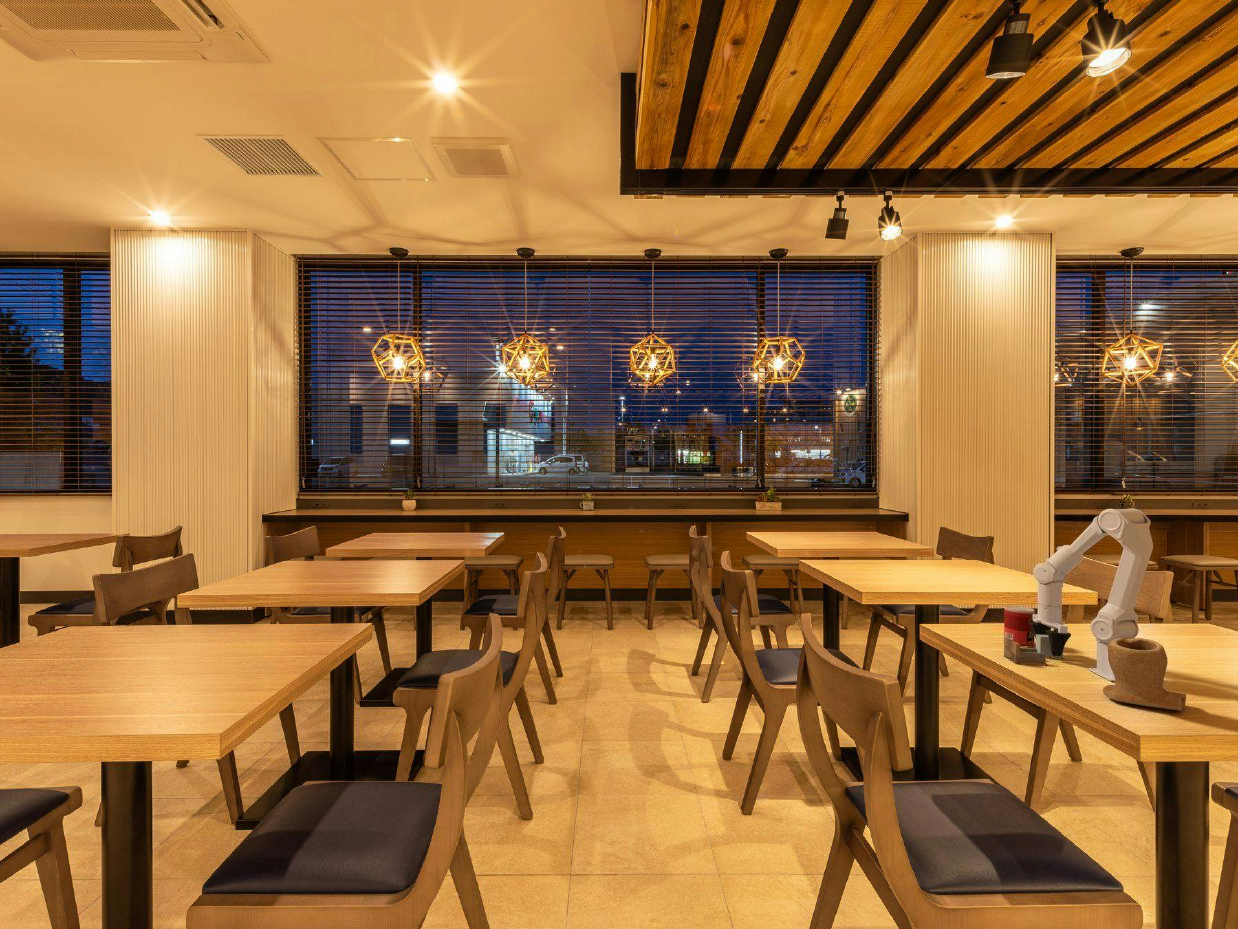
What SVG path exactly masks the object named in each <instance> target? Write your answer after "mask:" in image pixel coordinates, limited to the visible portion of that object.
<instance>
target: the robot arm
mask: <svg viewBox="0 0 1238 929" xmlns="http://www.w3.org/2000/svg"><path fill="white" fill-rule="evenodd" d="M1150 526H1151V520H1150V518H1148V516H1147V515H1146V514H1145V513H1144V512H1143V510H1140V509H1137V508H1117V509H1116V508H1115V509H1114V508H1107V509H1104V510H1102V511H1101V512H1100V513H1099V515H1096V516H1095V517H1094V518H1093V520H1092V522H1091V523H1090V524H1089V525H1088V526H1087V527H1086V528H1085V530H1084V531H1083V532H1082V533H1081V534H1080V535H1079V536H1078V537H1077V538H1076V539H1075V540H1074V541H1073V542H1072V543H1071V544H1070V545H1069V544H1064V545H1061V546H1059V545H1058V546H1057V547H1056V552H1054V553H1053V554H1052V555H1051V556H1050V557H1047V558H1046V559H1045V562H1040V563H1039V562H1038V563H1036V564H1035V566H1034V568H1033V569H1032V570H1033V571H1032V576H1033V577H1034V579H1035V581H1036V582H1037V613H1035V614H1033V621H1034V623H1032V622H1031V623H1029V625H1030V626H1031V628H1032V630H1033V632H1034V635H1035V640H1036V635H1048V637H1049V640H1050V646H1051V653H1052V655H1053V656H1061V655H1062V653H1063V654H1064V649H1065V646H1066V644H1067V642H1068V641H1069V639H1070V638H1071V637H1072V633H1071V632H1069V629H1068V628H1069V627H1068V626H1067V625H1066V624H1065V623H1064V621H1063V620H1062V618H1063V613H1062V612H1063V611H1062V610H1063V605H1062V604H1063V588H1064V583H1065V581H1067V578H1068V574H1069V573H1070V572H1071V571H1072V570H1073V569H1074V568H1075V567H1077V566H1078V565H1079V564H1080V563H1081V562H1082V561H1083V560H1084V553H1085V552H1086V551H1088V550H1089V549H1090V548H1092V547H1093V546H1094V545H1096V544H1097V543H1098V542H1099V541H1101V540H1102V539H1103V538H1104V537H1106V536H1110V537H1111V538H1113V539H1115V540H1116V541H1117V542H1118V543H1119V544H1120V545H1121V547H1122V548H1123V550H1122V553H1121V556H1120V560H1119V563H1118V566H1117V569H1116V573H1115V577H1114V579H1113V582H1112V586H1111V589H1110V592H1109V596H1108V598H1107V599H1108V600H1107V603H1106V604H1105V605H1104V606H1103V607H1102V608H1100V610H1098V613H1097V615H1096V617H1095V618H1094V619H1092V620H1091V622H1090V626H1089V627H1090V632H1091V633H1092V636H1093V637H1095V641H1096V667H1088V670H1089V671H1090V672H1092V673H1094V674H1096V675H1098V676H1100V677H1102V678H1104V679H1106V680H1108V681H1109V682H1112V681H1113V683H1115V677H1114V674H1113V671H1112V669H1111V667H1110V664H1109V660H1108V644H1109V643H1110V642H1111V641H1112V640H1114V639H1118V638H1125V639H1131V638H1137V636H1138V634H1139V633H1140V632H1139V631H1140V630H1139V625H1138V622H1139V615H1138V614H1137V613H1136V611H1135V606H1136V604H1137V600H1138V599H1139V598H1138V597H1139V594H1140V590H1141V588H1142V584H1143V581H1144V578H1145V575H1146V571H1147V568H1148V566H1149V561H1150V558H1151V555H1152V552H1153V549H1154V543H1153V538H1152V535H1151V531H1150Z"/></svg>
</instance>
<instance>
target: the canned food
mask: <svg viewBox="0 0 1238 929" xmlns="http://www.w3.org/2000/svg"><path fill="white" fill-rule="evenodd" d="M1033 614H1036V612H1035V609H1033V608H1031V607H1027V606H1021V605H1005V606H1004V609H1003V619H1004V620H1003V638H1004V637H1008V638H1010V639H1012V640H1013V641H1015V642H1017V643H1019V644H1020V647H1021V646H1032V647H1034V646H1035V644H1036V639H1035V635H1034V632H1033V630H1032V628H1031V626H1030V625H1029V623H1031V622H1032V623H1034V621H1033ZM1033 645H1034V646H1033Z"/></svg>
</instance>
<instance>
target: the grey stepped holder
mask: <svg viewBox="0 0 1238 929" xmlns="http://www.w3.org/2000/svg"><path fill="white" fill-rule="evenodd" d="M1003 657H1004V658H1006V659H1008V660H1009V659H1010V660H1009V661H1011V662H1012V661H1013V663H1014V664H1015V665H1026V664H1032V665H1031V666H1044V665H1047V666H1048V663H1047V662H1046V659H1047V658H1046V654H1045V653H1037V649H1036V647H1035V648H1034V647H1033V648H1032V647H1021V646H1020V644H1019V643H1017V642H1015V641H1013V640H1012V639H1010V638H1008V637H1004V636H1003Z"/></svg>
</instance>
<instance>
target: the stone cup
mask: <svg viewBox="0 0 1238 929" xmlns="http://www.w3.org/2000/svg"><path fill="white" fill-rule="evenodd" d="M1108 660H1109V664H1110V667H1111V669H1112V671H1113V674H1114V677H1115V682H1114V684H1107V685H1105V686H1104V687H1103V688H1102V693H1103V695H1104V696H1106V697H1107V698H1109V699H1110V700H1112V701H1116V702H1121V703H1125V704H1131V705H1138V706H1143V707H1149V708H1156V709H1161V710H1162V709H1164V710H1168V711H1169V710H1171V711H1175V712H1176V711H1177V712H1182V711H1183V709H1184V708H1185V706H1186V703H1187V702H1186V701H1187V700H1186V699H1187V694H1186V693H1181V692H1175V691H1170V690H1166V689H1165V688H1164V687H1163V686H1164V680H1165V675H1166V671H1167V667H1168V655H1167V652H1166V650H1165V648H1164V646H1163V644H1161V643H1159V642H1157V641H1155V640H1152V639H1148V638H1144V637H1143V638H1142V637H1135V638H1131V639H1125V638H1118V639H1114V640H1112V641H1111V642H1110V643H1109V644H1108Z"/></svg>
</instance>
